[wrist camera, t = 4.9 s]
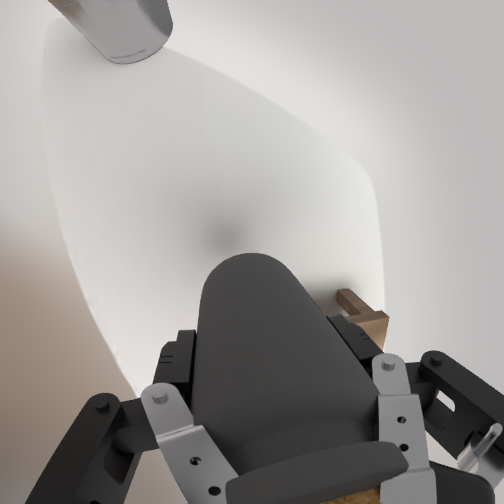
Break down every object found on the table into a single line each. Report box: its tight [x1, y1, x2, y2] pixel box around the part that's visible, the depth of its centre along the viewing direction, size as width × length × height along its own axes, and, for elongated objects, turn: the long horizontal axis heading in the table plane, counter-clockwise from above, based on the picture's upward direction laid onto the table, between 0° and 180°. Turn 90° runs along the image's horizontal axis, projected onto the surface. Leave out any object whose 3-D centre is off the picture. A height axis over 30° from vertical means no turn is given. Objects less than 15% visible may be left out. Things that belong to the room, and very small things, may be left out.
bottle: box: [191, 253, 409, 504], centre depth 9 cm, size 6×6×15 cm
